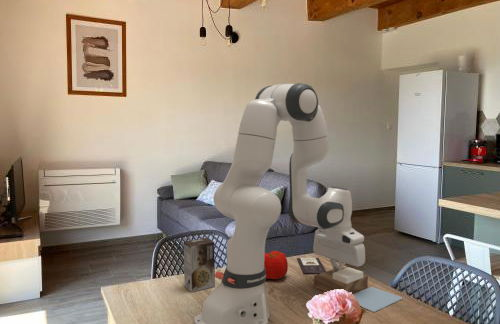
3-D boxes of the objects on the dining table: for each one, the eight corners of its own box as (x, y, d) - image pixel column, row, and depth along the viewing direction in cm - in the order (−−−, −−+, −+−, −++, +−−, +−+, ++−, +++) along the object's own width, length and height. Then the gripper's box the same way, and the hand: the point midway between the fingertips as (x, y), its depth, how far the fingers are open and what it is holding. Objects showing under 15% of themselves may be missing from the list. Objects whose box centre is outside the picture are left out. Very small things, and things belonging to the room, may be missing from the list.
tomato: (273, 269, 163) (273, 246, 162) (294, 278, 154) (294, 254, 153) (251, 275, 157) (251, 251, 156) (271, 285, 147) (271, 260, 146)
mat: (374, 312, 126) (374, 311, 126) (342, 299, 135) (342, 298, 135) (403, 298, 136) (403, 297, 136) (371, 287, 145) (371, 286, 145)
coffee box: (207, 281, 151) (206, 237, 150) (215, 287, 146) (215, 241, 144) (183, 286, 146) (182, 241, 145) (191, 292, 141) (190, 245, 139)
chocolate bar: (303, 273, 158) (296, 257, 176) (303, 275, 158) (296, 260, 176) (327, 272, 158) (318, 257, 176) (327, 275, 158) (318, 259, 176)
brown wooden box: (341, 297, 137) (341, 285, 136) (314, 286, 146) (314, 275, 146) (367, 287, 146) (367, 276, 145) (339, 277, 155) (340, 266, 154)
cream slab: (346, 283, 138) (346, 278, 138) (332, 278, 143) (332, 272, 142) (363, 277, 144) (363, 271, 144) (348, 272, 148) (349, 267, 148)
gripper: (309, 228, 151) (309, 266, 153) (356, 240, 136) (355, 282, 137) (321, 226, 155) (320, 262, 157) (368, 237, 140) (367, 277, 141)
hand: (337, 271), depth 147 cm, fingers closed
